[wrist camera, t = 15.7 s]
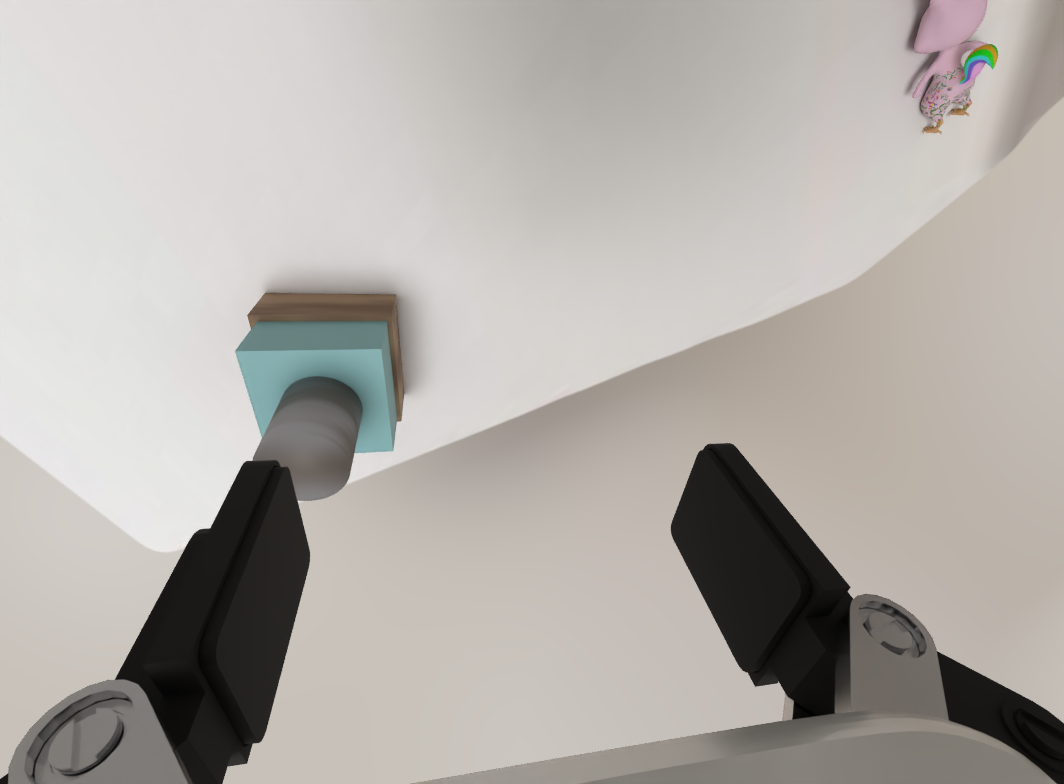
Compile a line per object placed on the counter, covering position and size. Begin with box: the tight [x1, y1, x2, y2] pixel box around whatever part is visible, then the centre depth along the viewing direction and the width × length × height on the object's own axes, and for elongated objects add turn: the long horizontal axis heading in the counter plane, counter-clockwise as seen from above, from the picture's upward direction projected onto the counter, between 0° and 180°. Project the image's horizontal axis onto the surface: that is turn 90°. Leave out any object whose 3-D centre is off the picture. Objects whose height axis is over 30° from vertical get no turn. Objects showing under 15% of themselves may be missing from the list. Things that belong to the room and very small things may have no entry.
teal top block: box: [235, 321, 397, 453], centre depth 39 cm, size 10×10×5 cm
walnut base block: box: [247, 293, 404, 421], centre depth 43 cm, size 11×11×5 cm
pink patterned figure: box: [912, 0, 998, 134], centre depth 36 cm, size 6×6×15 cm
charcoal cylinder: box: [253, 376, 363, 501], centre depth 34 cm, size 6×6×7 cm
